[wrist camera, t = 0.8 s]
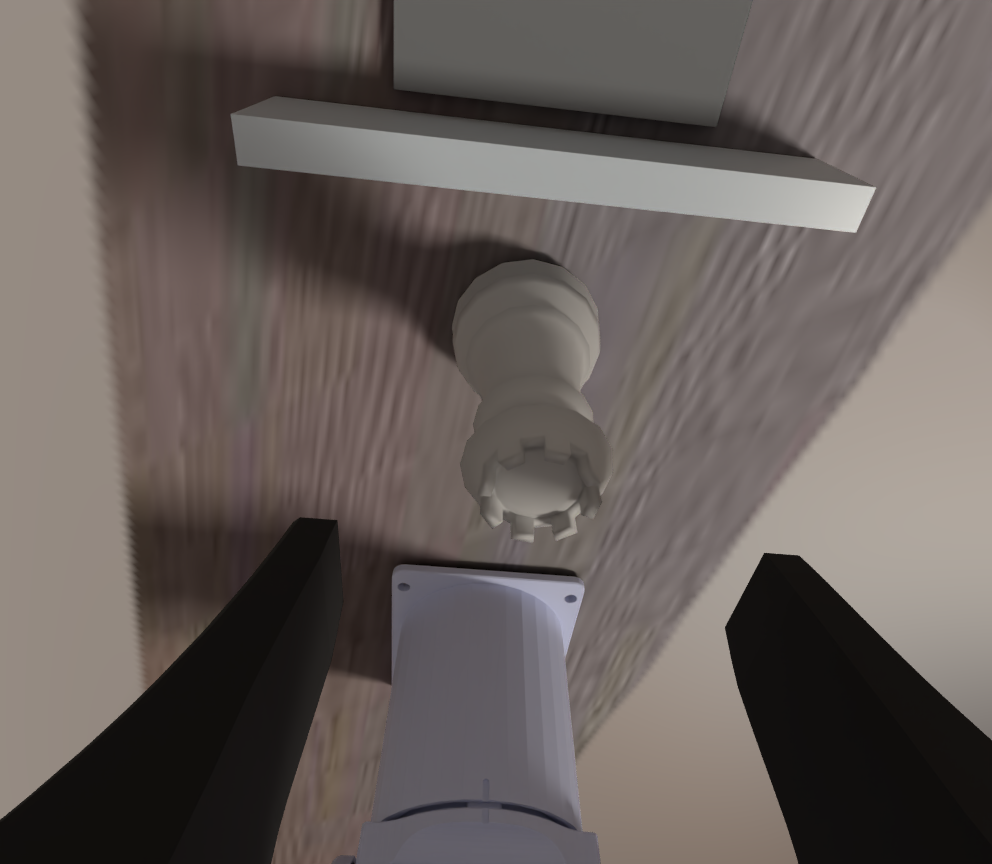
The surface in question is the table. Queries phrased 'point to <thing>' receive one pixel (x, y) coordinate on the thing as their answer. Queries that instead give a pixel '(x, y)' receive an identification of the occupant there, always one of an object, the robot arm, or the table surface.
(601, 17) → the charcoal pad
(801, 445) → the table surface
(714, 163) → the grey acrylic wall
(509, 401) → the rook chess piece
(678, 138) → the table surface
